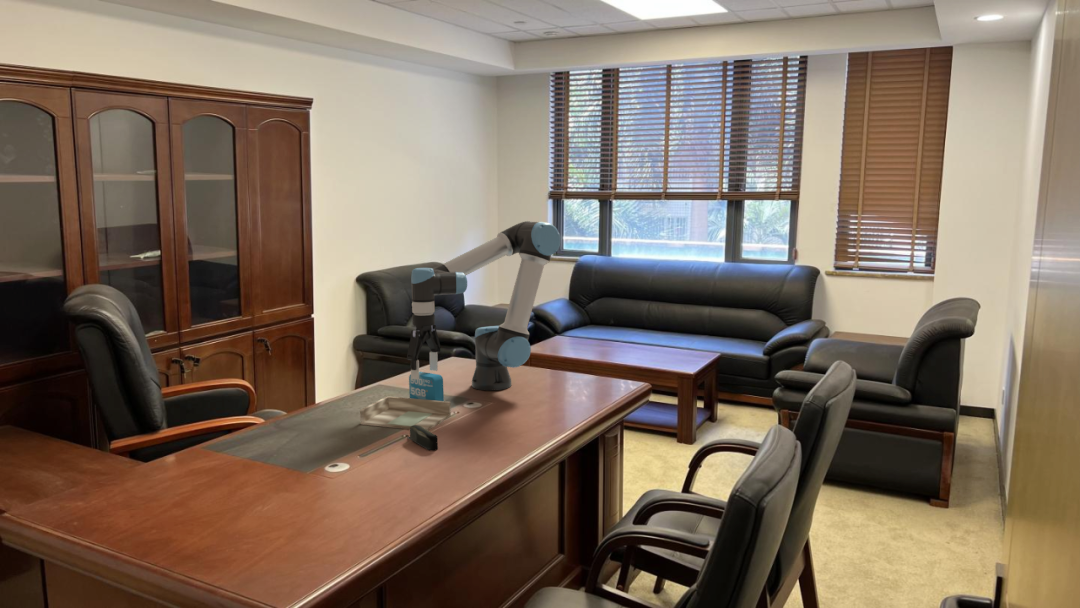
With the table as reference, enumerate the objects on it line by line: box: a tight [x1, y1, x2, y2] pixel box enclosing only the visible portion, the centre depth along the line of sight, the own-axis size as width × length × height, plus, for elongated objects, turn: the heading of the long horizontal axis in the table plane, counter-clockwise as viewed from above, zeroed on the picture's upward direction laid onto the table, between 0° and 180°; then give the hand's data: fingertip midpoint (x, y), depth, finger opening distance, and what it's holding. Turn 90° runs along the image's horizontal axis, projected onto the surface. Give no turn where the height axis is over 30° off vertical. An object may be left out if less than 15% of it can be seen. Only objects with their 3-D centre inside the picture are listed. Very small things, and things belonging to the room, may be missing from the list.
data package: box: [408, 371, 445, 401], centre depth 267 cm, size 12×4×12 cm, turn 56°
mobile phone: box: [406, 425, 439, 452], centre depth 230 cm, size 5×3×15 cm
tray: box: [359, 395, 452, 431], centre depth 254 cm, size 17×24×5 cm
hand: (424, 374), depth 266 cm, fingers open, 13 cm apart
